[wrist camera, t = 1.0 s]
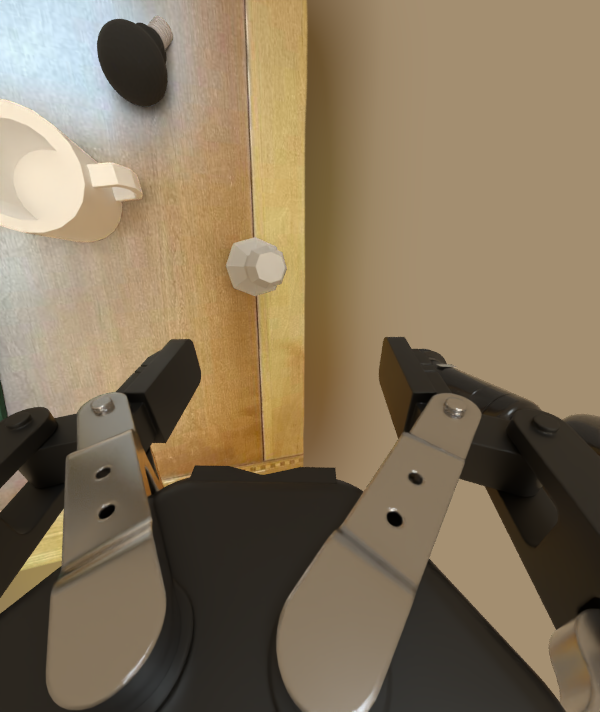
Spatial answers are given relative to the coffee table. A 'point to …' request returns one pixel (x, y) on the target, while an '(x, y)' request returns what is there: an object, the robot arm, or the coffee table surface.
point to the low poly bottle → (255, 266)
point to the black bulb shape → (135, 58)
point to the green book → (2, 406)
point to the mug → (56, 181)
